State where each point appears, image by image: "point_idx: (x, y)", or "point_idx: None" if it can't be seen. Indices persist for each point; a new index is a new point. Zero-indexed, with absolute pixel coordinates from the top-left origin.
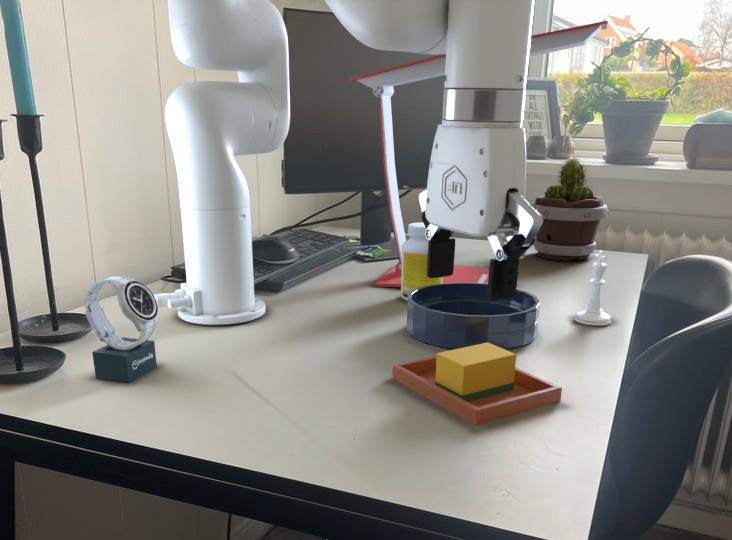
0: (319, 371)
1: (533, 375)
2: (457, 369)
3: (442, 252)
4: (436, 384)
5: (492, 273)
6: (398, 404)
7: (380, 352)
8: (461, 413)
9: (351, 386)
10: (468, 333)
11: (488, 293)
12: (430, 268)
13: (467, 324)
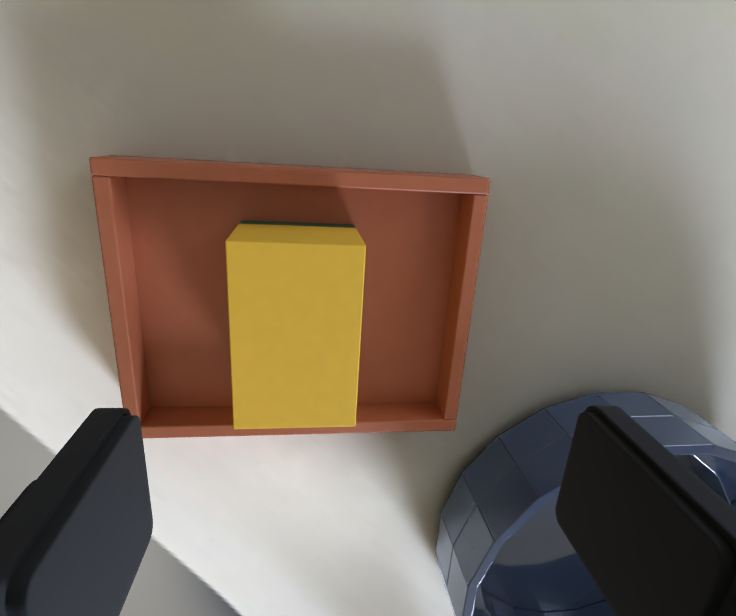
0: (658, 46)
1: (224, 434)
2: (259, 237)
3: (646, 556)
4: (350, 226)
5: (16, 506)
6: (346, 90)
7: (640, 278)
8: (165, 159)
9: (518, 57)
10: (510, 470)
11: (107, 420)
12: (617, 431)
13: (523, 484)
